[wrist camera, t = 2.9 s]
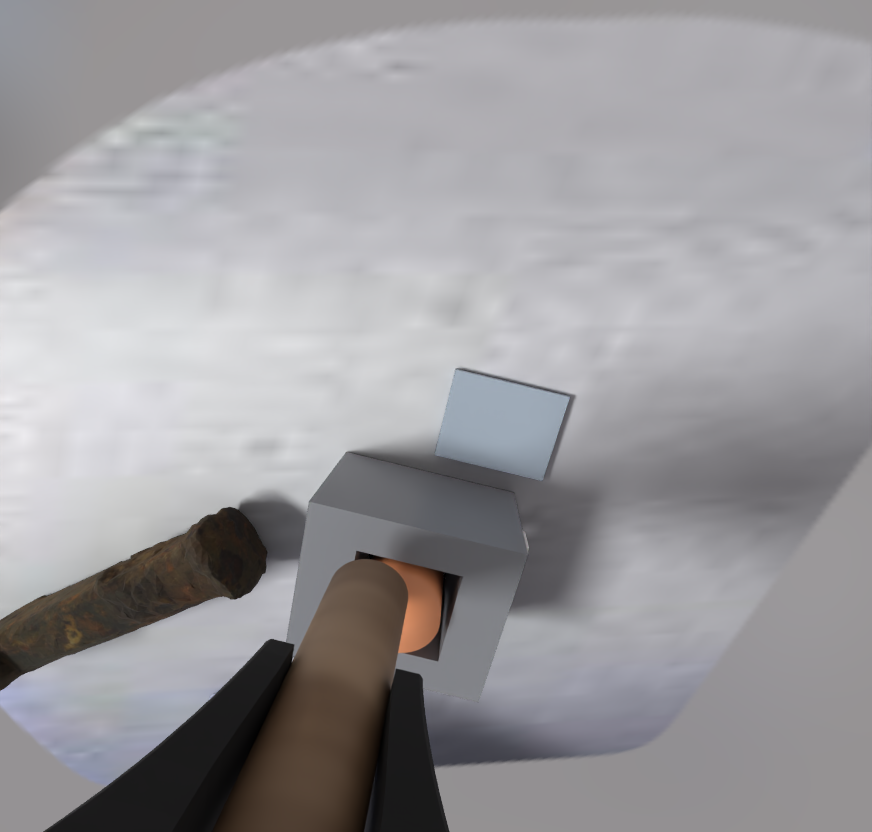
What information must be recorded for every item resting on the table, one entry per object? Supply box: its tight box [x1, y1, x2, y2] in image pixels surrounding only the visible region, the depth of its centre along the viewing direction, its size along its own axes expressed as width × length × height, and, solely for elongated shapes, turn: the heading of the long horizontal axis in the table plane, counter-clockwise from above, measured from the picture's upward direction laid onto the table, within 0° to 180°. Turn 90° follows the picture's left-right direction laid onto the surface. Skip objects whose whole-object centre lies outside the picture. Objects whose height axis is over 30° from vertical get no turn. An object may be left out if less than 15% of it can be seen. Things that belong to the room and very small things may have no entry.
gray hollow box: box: [286, 452, 529, 702], centre depth 19 cm, size 7×8×5 cm
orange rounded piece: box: [372, 555, 444, 653], centre depth 17 cm, size 3×3×2 cm
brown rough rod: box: [0, 507, 267, 691], centre depth 21 cm, size 19×4×5 cm, turn 113°
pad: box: [435, 369, 570, 481], centre depth 19 cm, size 4×5×1 cm
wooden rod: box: [212, 559, 408, 832], centre depth 10 cm, size 3×3×9 cm
